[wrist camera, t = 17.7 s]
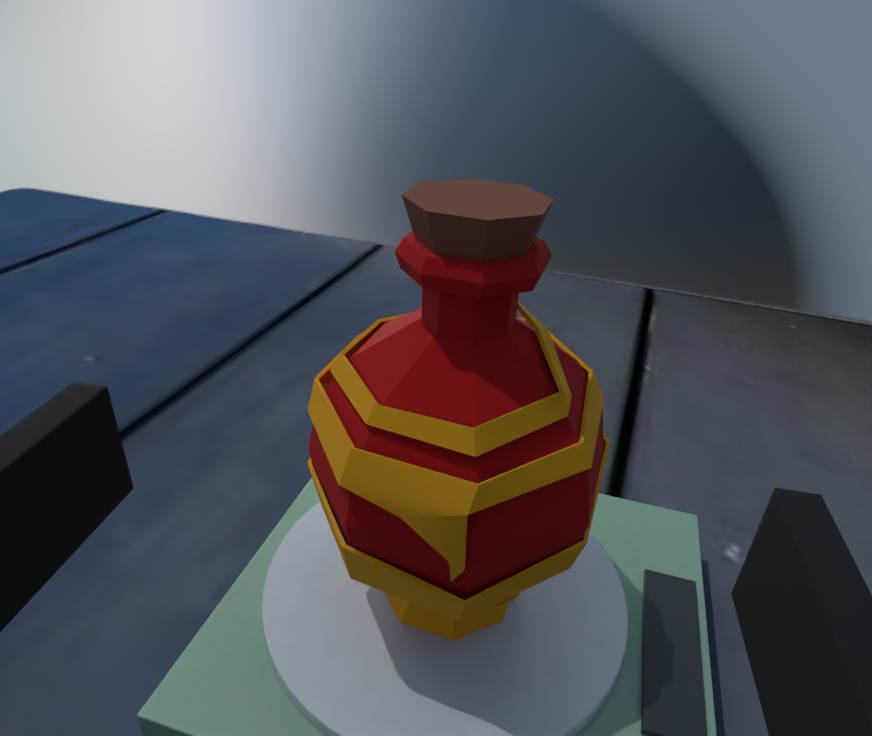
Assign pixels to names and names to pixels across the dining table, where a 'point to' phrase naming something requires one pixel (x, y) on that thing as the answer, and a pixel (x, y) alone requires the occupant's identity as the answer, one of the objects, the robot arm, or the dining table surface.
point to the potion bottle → (460, 422)
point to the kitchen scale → (453, 646)
